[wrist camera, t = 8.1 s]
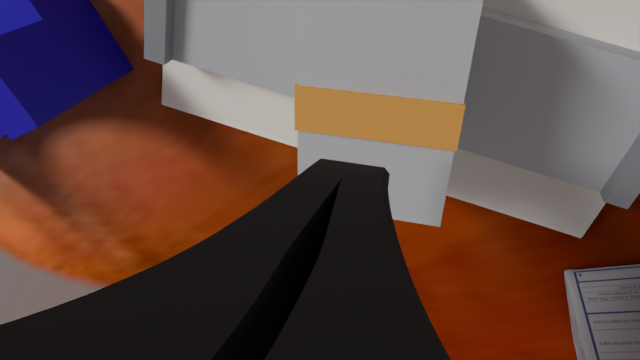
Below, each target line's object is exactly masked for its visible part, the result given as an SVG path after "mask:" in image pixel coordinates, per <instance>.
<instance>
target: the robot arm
mask: <svg viewBox="0 0 640 360" xmlns="http://www.w3.org/2000/svg"><path fill="white" fill-rule="evenodd" d="M389 176H390V174H389V172H388V171H387V170H386V169H385V167H378V166H371V165H364V164H357V163H350V162H343V161H336V160H329V159H322V158H321V159H319V160H318V161H317V162H315V163H314V164H312V165H311V166H310V167H308V168H307V169H306V170H304V171H303V172H302V173H301V174H299V175H298V176H297V177H295V178H294V179H293V180H292V181H290V182H289V183H288V184H286V185H285V186H284V187H282V188H281V189H280V190H279V191H277V192H276V193H274V194H273V195H272V196H270V197H269V198H268V199H266V200H265V201H263V202H262V203H261V204H259V205H258V206H257V207H255V208H254V209H252V210H251V211H249V212H248V213H246V214H245V215H243V216H242V217H240V218H239V219H237V220H235V221H234V222H232V223H231V224H229V225H228V226H226V227H225V228H223V229H222V230H220V231H219V232H217V233H215V234H214V235H212V236H210V237H208V238H207V239H205V240H203V241H201V242H200V243H198V244H196V245H194V246H193V247H191V248H189V249H187V250H185V251H183V252H181V253H179V254H177V255H175V256H173V257H171V258H169V259H167V260H165V261H163V262H161V263H159V264H157V265H155V266H153V267H151V268H149V269H146V270H144V271H142V272H139V273H137V274H135V275H132V276H130V277H128V278H125V279H123V280H121V281H119V282H116V283H114V284H112V285H109V286H107V287H105V288H102V289H100V290H98V291H95V292H93V293H90V294H88V295H85V296H83V297H80V298H77V299H75V300H72V301H69V302H66V303H64V304H61V305H58V306H56V307H53V308H50V309H47V310H44V311H41V312H38V313H35V314H32V315H29V316H26V317H23V318H21V319H18V320H15V321H11V322H8V323H5V324H2V325H0V360H451V359H450V357H449V356H448V354H447V352H446V351H445V349H444V347H443V345H442V343H441V341H440V339H439V337H438V335H437V333H436V331H435V329H434V328H433V326H432V324H431V322H430V320H429V318H428V315H427V313H426V311H425V309H424V307H423V305H422V303H421V300H420V298H419V296H418V294H417V291H416V289H415V287H414V284H413V282H412V279H411V276H410V274H409V271H408V268H407V266H406V263H405V260H404V257H403V254H402V251H401V248H400V245H399V242H398V238H397V234H396V230H395V226H394V222H393V219H392V214H391V209H390V202H389V195H388V185H389Z"/></svg>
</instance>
